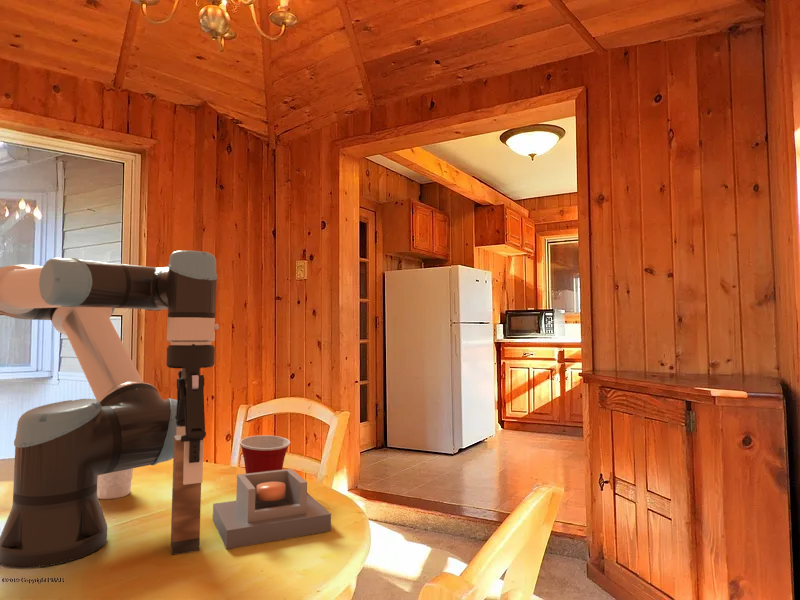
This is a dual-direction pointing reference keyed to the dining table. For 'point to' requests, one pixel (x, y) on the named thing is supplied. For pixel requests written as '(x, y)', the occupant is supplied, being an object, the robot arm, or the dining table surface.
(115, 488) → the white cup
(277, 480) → the switch panel
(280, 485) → the button
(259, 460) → the plastic cup
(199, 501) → the brown wooden block
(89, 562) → the dining table surface
